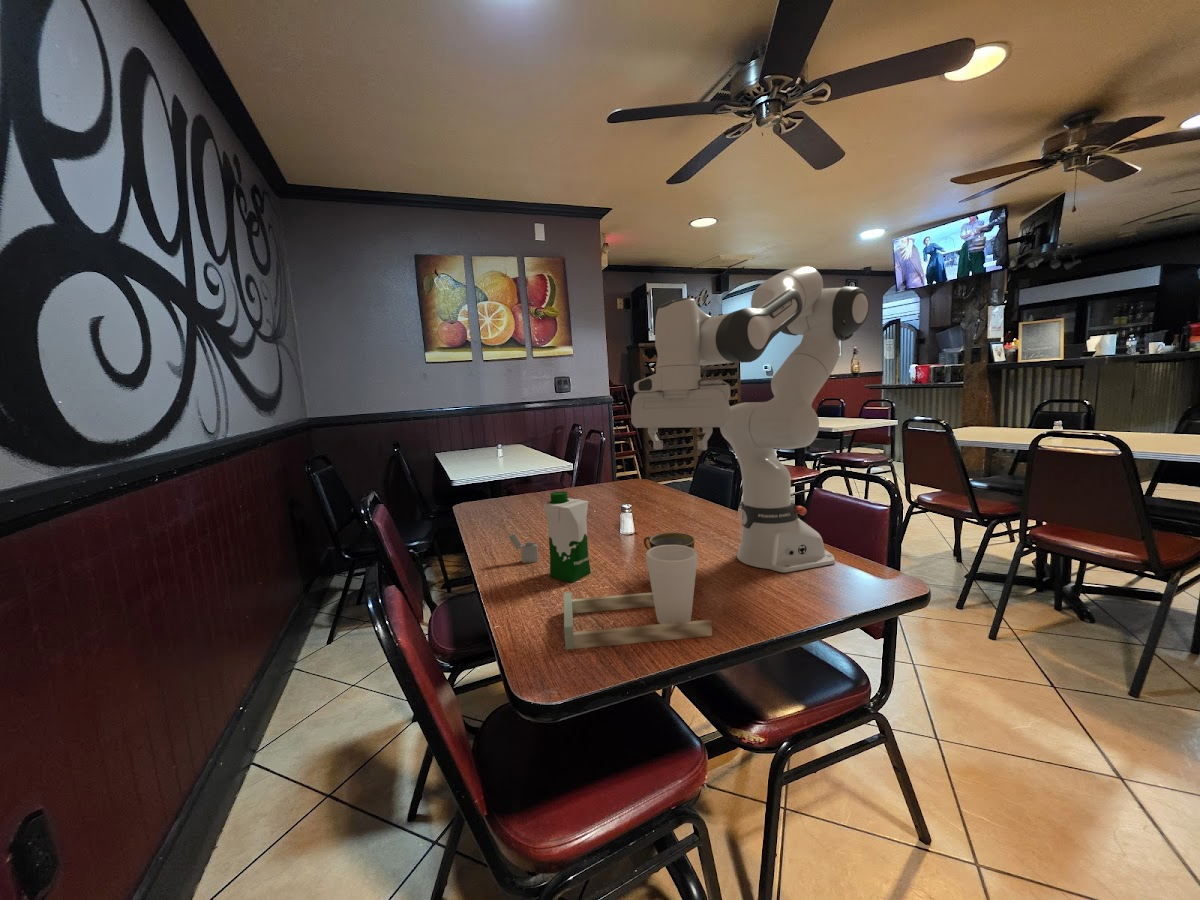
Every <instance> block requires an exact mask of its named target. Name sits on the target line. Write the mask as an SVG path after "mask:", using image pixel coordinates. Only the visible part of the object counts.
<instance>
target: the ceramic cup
mask: <svg viewBox="0 0 1200 900" xmlns="http://www.w3.org/2000/svg"><path fill="white" fill-rule="evenodd" d="M647 540H648V541H649V546H650V547H649V546H648V545H647V544H648V543H647ZM643 545H644V547H645V548H646V550H647V551H648V550H649V549H651V548H653V547H656V546H661V545H683V546H687V547H691V548H693V549H695V538H694V537H693V536H692V535H689V534H687V533H682V532H681V533H679V532H664V533H658V534H655V535H652V536H646V537H645V538H644V540H643Z"/></svg>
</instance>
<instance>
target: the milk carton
mask: <svg viewBox="0 0 1200 900" xmlns="http://www.w3.org/2000/svg"><path fill="white" fill-rule="evenodd" d="M588 507H589V500H583V499H580V498H568V492H567V491H554V492H551V493H550V501H548V502H546V503H544V504H543V509H544V513H545V516H546V520H547V530H548V532H547V533H548V547H549V577H550V578H552V579H556V580H557V579H558V580H561V581H564V582H567V583H572V584H573V583H574V582H577V581H578V580H580V579H582V578H584V577H585V576H587V575H588V576H589V575H590V574H591V573H592V572H591V565H590V559H589V543H588V530H587V528H588V526H587V515H588V509H589V508H588Z"/></svg>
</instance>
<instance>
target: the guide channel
mask: <svg viewBox="0 0 1200 900" xmlns="http://www.w3.org/2000/svg"><path fill="white" fill-rule="evenodd" d="M649 607H651V608H653V607H655V605H654V599H653V594H652V591H651V592H643V593H642V592H641V593H640V592H639V593H628V594H619V595H606V596H595V597H583V598H582V597H581V598H574V599H573V598H572V611H573V614H582V613H593V612H603V611H604V612H605V611H615V610H626V609H637V608H649ZM712 624H713V623H712V621H711V619H701V620H691V621H688V622H678V623H667V624H660V623H659V624H658V623H657V624H647V625H637V626H624V627H614V628H603V629H593V630H583V631H582V630H581V631H574V632H573V634H574V649H573V650H576V649H587V648H597V647H598V648H599V647H608V646H610V647H611V646H619V645H629V644H630V645H631V644H640V643H651V642H662V641H670V640H674V641H675V640H683V639H692V638H693V639H694V638H703V637H704V638H705V637H712V636H713V625H712Z"/></svg>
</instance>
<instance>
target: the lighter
mask: <svg viewBox="0 0 1200 900" xmlns="http://www.w3.org/2000/svg"><path fill="white" fill-rule="evenodd" d="M508 538H509V541H511V543H512V544H513V546H514V548H515V550H519V549H521V550H520V552H521V563H522V564H529V563H538V562H539V552H538V544H537V543H535V542H533V541H525V543H524V544H522V543H521V542H520V540H519V538H518V537H517V535H516V534H515V532H512V533H510V534H509V535H508Z"/></svg>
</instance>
